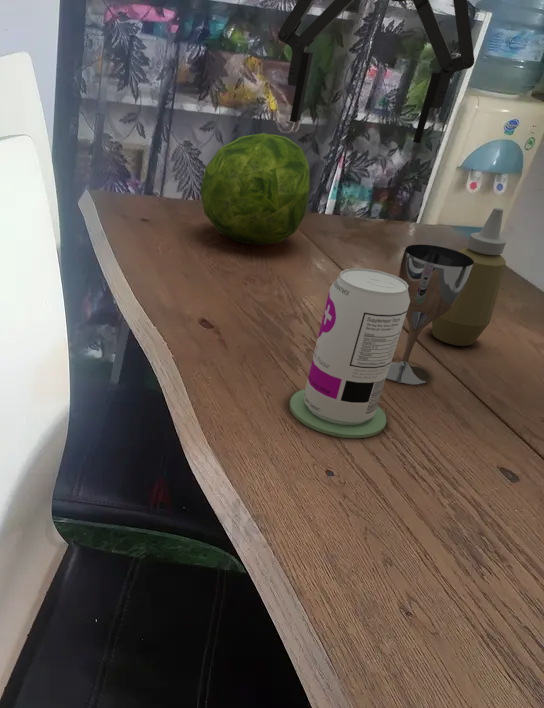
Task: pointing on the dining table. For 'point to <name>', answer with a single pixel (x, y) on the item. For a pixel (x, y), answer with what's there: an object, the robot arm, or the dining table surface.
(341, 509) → the dining table surface
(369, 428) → the coaster
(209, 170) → the lettuce
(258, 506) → the dining table surface
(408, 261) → the wine glass
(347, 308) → the supplement can
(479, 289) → the squeeze bottle
